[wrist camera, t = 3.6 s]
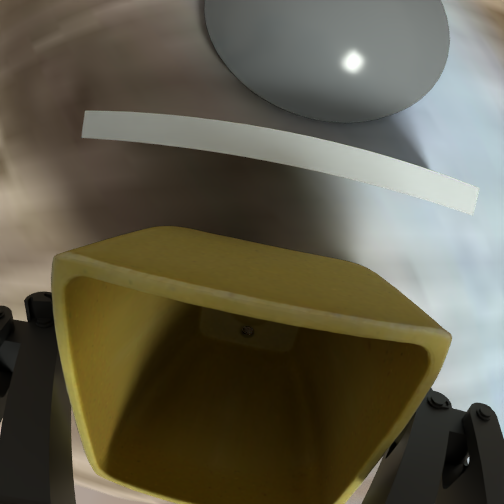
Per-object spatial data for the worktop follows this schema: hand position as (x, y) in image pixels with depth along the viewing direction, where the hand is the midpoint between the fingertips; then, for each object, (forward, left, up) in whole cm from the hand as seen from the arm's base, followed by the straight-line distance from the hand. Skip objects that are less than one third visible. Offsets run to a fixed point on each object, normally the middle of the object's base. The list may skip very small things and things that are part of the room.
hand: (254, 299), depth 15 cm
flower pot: (0, 0, -1) cm, 1 cm away
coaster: (+1, +14, 0) cm, 14 cm away
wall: (0, +7, 0) cm, 7 cm away
